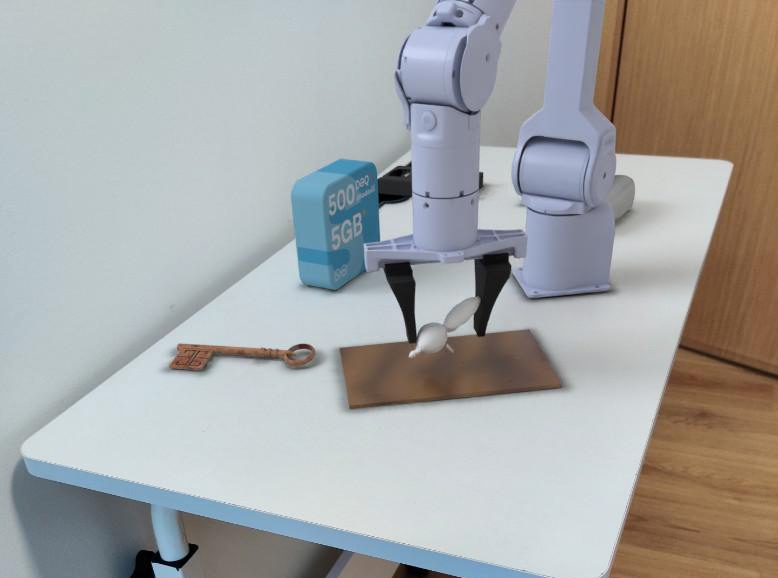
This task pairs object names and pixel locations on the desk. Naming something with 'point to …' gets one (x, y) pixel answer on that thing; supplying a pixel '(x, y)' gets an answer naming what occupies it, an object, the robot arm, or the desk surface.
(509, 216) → the desk surface
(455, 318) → the rabbit figurine
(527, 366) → the brown wooden board
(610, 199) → the infrared thermometer
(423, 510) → the desk surface
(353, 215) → the data package
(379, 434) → the desk surface
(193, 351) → the key
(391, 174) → the vhs tape
